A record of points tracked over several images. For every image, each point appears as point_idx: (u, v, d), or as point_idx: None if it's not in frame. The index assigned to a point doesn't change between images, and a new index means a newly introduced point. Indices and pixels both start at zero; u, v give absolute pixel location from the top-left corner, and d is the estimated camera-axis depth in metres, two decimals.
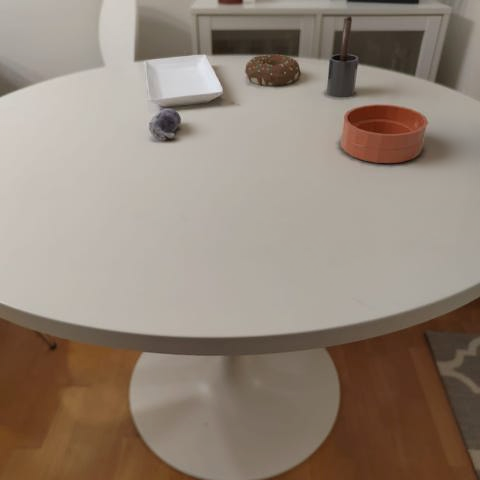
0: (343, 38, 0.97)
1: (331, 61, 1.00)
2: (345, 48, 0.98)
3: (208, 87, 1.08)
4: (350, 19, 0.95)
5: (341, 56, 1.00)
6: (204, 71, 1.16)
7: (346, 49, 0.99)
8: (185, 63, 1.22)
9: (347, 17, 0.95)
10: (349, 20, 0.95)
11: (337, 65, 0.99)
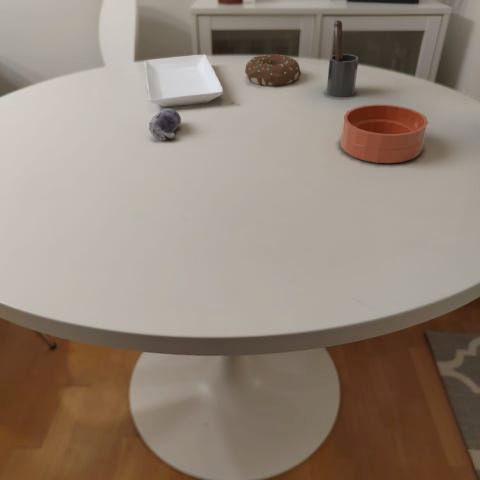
0: (336, 43, 0.96)
1: (331, 61, 1.00)
2: (339, 52, 0.97)
3: (208, 87, 1.08)
4: (340, 25, 0.93)
5: (336, 60, 0.99)
6: (204, 71, 1.16)
7: (340, 53, 0.98)
8: (186, 63, 1.22)
9: (337, 23, 0.93)
10: (339, 26, 0.93)
11: (337, 65, 0.99)
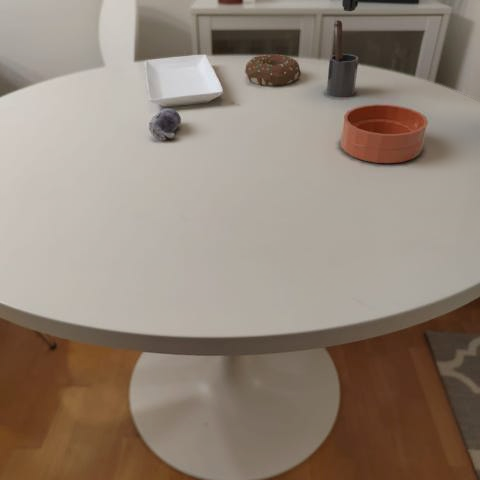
0: (336, 43, 0.96)
1: (331, 61, 1.00)
2: (339, 52, 0.97)
3: (208, 87, 1.08)
4: (340, 25, 0.93)
5: (336, 60, 0.99)
6: (204, 71, 1.16)
7: (340, 53, 0.98)
8: (186, 63, 1.22)
9: (337, 23, 0.93)
10: (339, 26, 0.93)
11: (337, 65, 0.99)
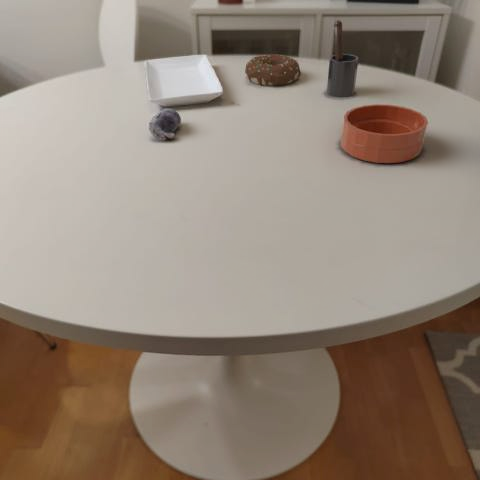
0: (336, 43, 0.96)
1: (331, 61, 1.00)
2: (339, 52, 0.97)
3: (208, 87, 1.08)
4: (340, 25, 0.93)
5: (336, 60, 0.99)
6: (204, 71, 1.16)
7: (340, 53, 0.98)
8: (186, 63, 1.22)
9: (337, 23, 0.93)
10: (339, 26, 0.93)
11: (337, 65, 0.99)
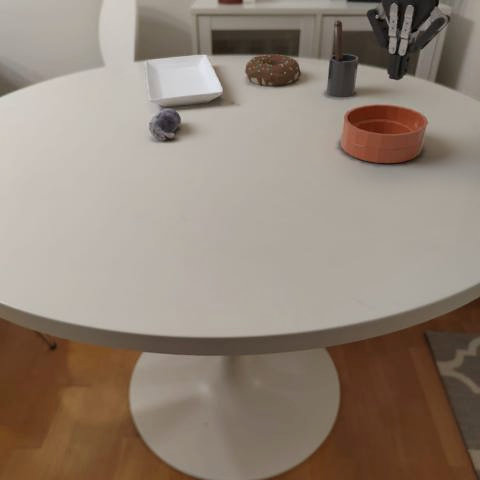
0: (336, 43, 0.96)
1: (331, 61, 1.00)
2: (339, 52, 0.97)
3: (208, 87, 1.08)
4: (340, 25, 0.93)
5: (336, 60, 0.99)
6: (205, 71, 1.16)
7: (340, 53, 0.98)
8: (186, 63, 1.22)
9: (337, 23, 0.93)
10: (339, 26, 0.93)
11: (337, 65, 0.99)
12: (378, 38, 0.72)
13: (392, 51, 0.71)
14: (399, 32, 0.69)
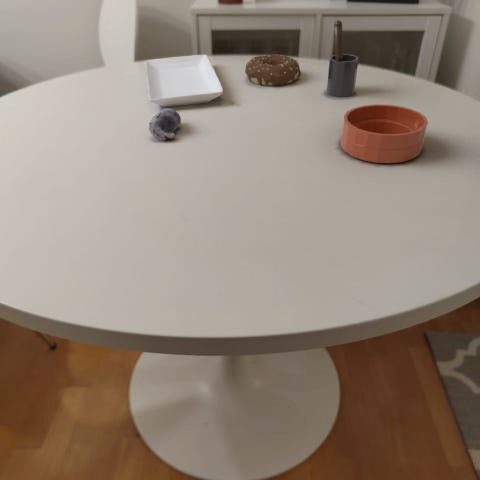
0: (336, 43, 0.96)
1: (331, 61, 1.00)
2: (339, 52, 0.97)
3: (208, 87, 1.08)
4: (340, 25, 0.93)
5: (336, 60, 0.99)
6: (205, 71, 1.16)
7: (340, 53, 0.98)
8: (186, 63, 1.22)
9: (337, 23, 0.93)
10: (339, 26, 0.93)
11: (337, 65, 0.99)
12: None
13: None
14: None
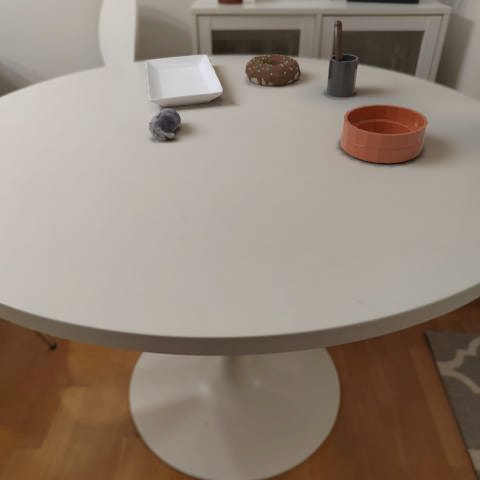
0: (336, 43, 0.96)
1: (331, 61, 1.00)
2: (339, 52, 0.97)
3: (208, 87, 1.07)
4: (340, 25, 0.93)
5: (336, 60, 0.99)
6: (205, 71, 1.16)
7: (340, 53, 0.98)
8: (187, 63, 1.22)
9: (337, 23, 0.93)
10: (339, 26, 0.93)
11: (337, 65, 0.99)
12: None
13: None
14: None
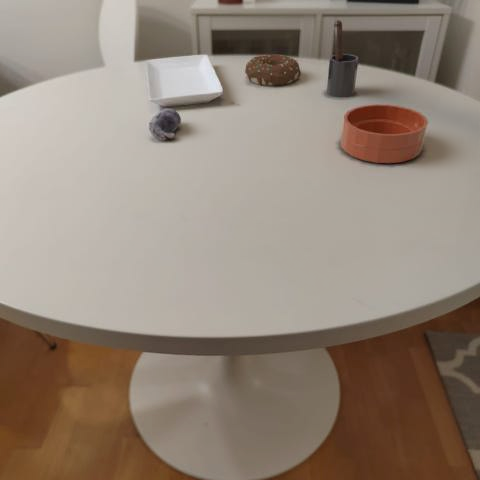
0: (336, 43, 0.96)
1: (331, 61, 1.00)
2: (339, 52, 0.97)
3: (208, 87, 1.08)
4: (340, 25, 0.93)
5: (336, 60, 0.99)
6: (205, 71, 1.16)
7: (340, 53, 0.98)
8: (187, 63, 1.22)
9: (337, 23, 0.93)
10: (339, 26, 0.93)
11: (337, 65, 0.99)
12: None
13: None
14: None
